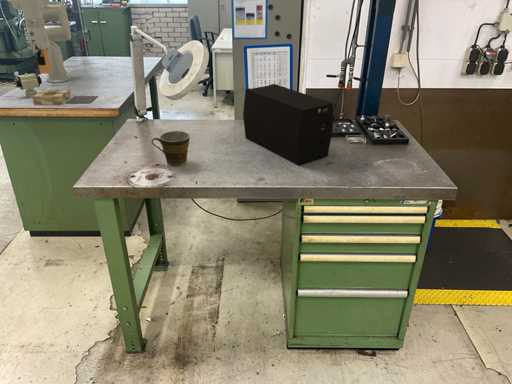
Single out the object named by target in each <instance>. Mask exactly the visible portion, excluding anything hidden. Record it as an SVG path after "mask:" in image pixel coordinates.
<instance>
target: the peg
mask: <svg viewBox="0 0 512 384" xmlns="http://www.w3.org/2000/svg"><path fill="white" fill-rule="evenodd" d="M37 50H40V49H39V48H37ZM39 52H40V51H39ZM42 54H43V56H44V60H45V64H46V65H38V70H39V73H40V75H41V74H42V75H43V74H46V75H48V74H49V73H51V72H52V68H51V64H50V60H49V55H48V51H47V48H46V49H44V50H42Z"/></svg>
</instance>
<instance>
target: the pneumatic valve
mask: <svg viewBox="0 0 512 384" xmlns="http://www.w3.org/2000/svg"><path fill="white" fill-rule="evenodd" d="M13 82H14V85H15V88H16V89H17V88H19V89H20V90H23V91H24V90H25V91H24V94H25V96H26V97H28V98H32V97H33V96H34V95H36V94H37V93H38V91H37V89H35V88H40V87H41V85H42V83H43V82H42V78H41V76H40V75H38V74H37V73H35V72H33V73H27V72H25V73H24V74H21V75H20V74H19V75H15V78H13Z"/></svg>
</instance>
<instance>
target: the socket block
mask: <svg viewBox="0 0 512 384" xmlns="http://www.w3.org/2000/svg"><path fill="white" fill-rule="evenodd" d="M31 98H32V102H33V105H34V106H62V105H63V104H64V103H66V102H67V101H69V100H70V99H71V98H72V96H71V92H70V89H43V90H41V91H40V92H37V94H36V95H34V96H33V97H31Z"/></svg>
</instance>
